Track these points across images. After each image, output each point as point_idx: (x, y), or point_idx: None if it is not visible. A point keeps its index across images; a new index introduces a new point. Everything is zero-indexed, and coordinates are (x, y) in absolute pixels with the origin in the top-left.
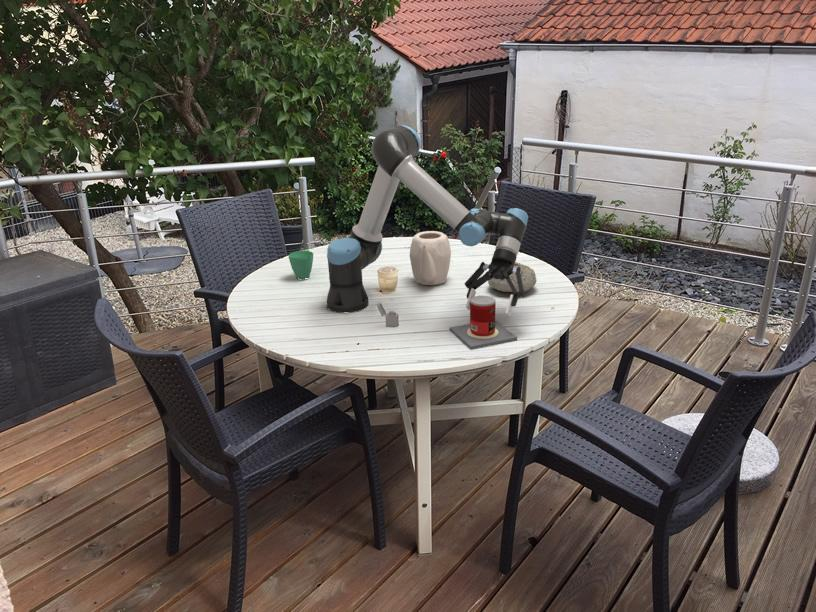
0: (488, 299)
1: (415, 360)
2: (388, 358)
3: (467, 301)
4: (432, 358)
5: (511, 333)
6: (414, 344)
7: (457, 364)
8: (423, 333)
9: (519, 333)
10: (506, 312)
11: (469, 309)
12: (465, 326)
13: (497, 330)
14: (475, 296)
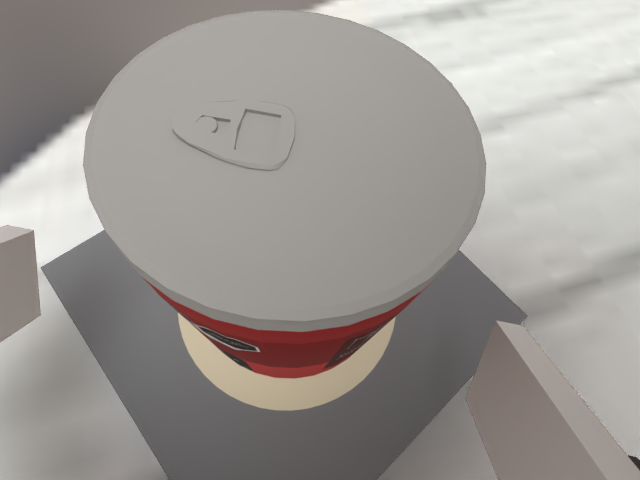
0: (212, 206)
1: (493, 12)
2: (591, 12)
3: (549, 365)
4: (440, 31)
5: (79, 317)
6: (581, 122)
7: (328, 6)
8: (624, 242)
9: (24, 392)
10: (12, 230)
11: (473, 389)
12: (433, 359)
13: (187, 340)
14: (451, 235)
